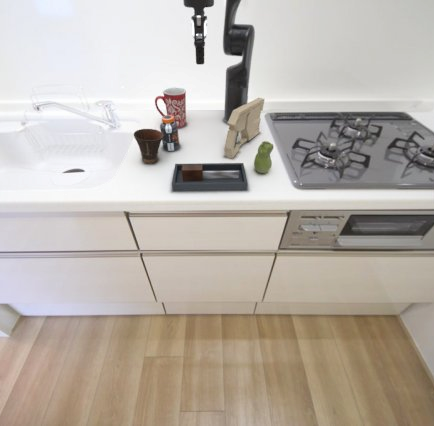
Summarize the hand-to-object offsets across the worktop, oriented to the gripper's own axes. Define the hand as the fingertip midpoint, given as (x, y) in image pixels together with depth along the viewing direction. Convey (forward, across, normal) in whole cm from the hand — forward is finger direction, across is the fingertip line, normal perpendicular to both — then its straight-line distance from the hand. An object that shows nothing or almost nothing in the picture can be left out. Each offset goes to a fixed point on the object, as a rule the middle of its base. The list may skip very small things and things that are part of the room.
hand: (200, 60), depth 67 cm
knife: (+27, -19, -2) cm, 33 cm away
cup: (+28, -7, +17) cm, 33 cm away
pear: (+28, -15, -19) cm, 37 cm away
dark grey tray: (+28, -19, -2) cm, 34 cm away
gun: (+28, +3, -15) cm, 32 cm away
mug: (+28, +21, +13) cm, 37 cm away
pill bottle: (+28, +1, +12) cm, 30 cm away
